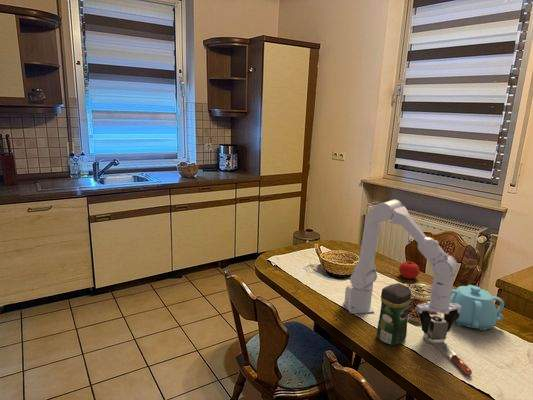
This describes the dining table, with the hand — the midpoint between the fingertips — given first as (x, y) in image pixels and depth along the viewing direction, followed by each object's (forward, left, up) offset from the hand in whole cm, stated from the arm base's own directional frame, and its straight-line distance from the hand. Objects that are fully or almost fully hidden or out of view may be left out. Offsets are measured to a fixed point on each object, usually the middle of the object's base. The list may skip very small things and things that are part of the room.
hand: (435, 330), depth 121 cm
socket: (0, 0, -2) cm, 2 cm away
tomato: (+16, +46, -3) cm, 49 cm away
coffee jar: (-14, +2, -3) cm, 15 cm away
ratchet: (0, -7, -3) cm, 8 cm away
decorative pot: (+20, +10, -3) cm, 22 cm away
